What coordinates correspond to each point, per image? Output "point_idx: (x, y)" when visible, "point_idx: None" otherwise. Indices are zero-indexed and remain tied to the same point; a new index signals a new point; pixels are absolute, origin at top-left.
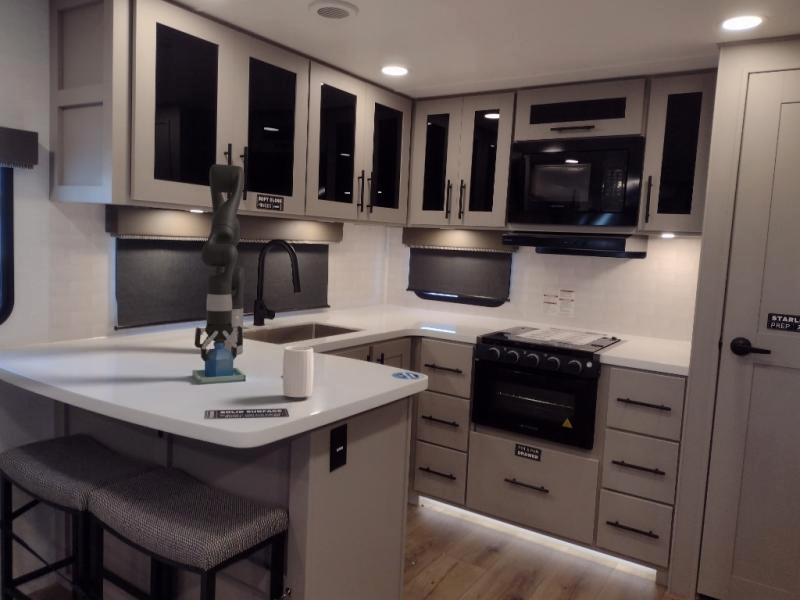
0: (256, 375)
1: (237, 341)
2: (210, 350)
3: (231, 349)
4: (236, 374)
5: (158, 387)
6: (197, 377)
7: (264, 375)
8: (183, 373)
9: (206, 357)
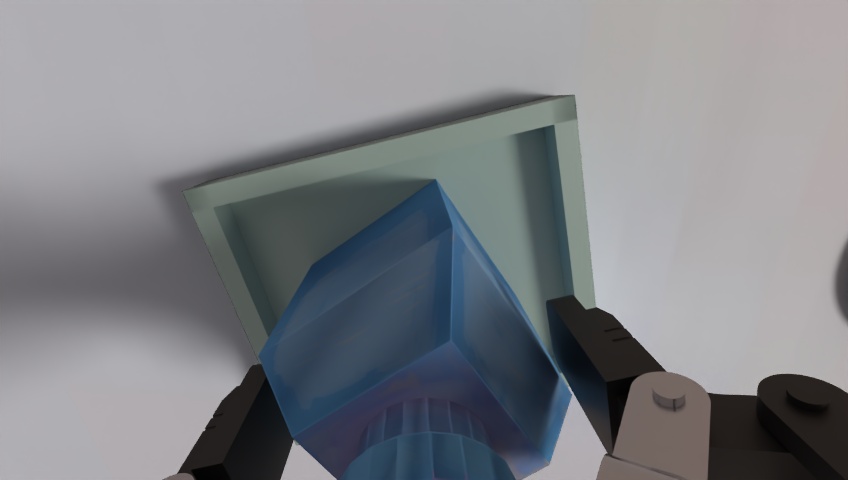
0: (688, 195)
1: (785, 433)
2: (306, 441)
3: (592, 381)
4: (544, 220)
5: (92, 457)
6: None
7: (745, 199)
8: (100, 72)
9: (291, 445)
